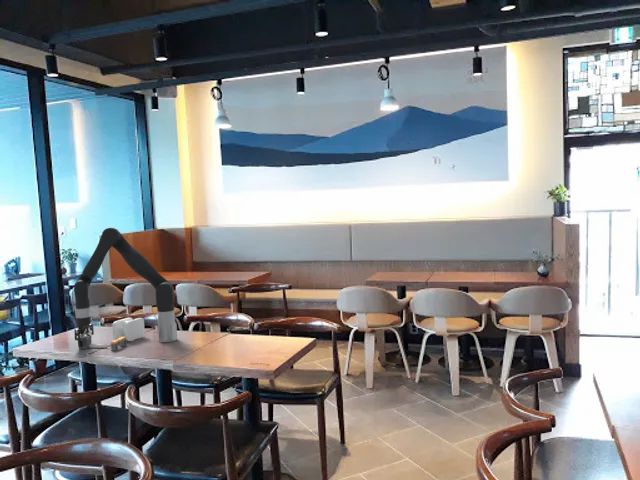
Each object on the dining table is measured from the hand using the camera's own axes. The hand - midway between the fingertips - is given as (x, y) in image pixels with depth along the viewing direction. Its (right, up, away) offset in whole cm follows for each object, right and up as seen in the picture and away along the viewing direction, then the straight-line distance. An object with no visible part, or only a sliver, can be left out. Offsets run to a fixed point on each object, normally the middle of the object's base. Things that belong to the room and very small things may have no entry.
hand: (85, 345), depth 288 cm
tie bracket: (+20, -1, -3) cm, 20 cm away
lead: (+5, -1, -1) cm, 5 cm away
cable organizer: (+18, 0, +17) cm, 25 cm away
